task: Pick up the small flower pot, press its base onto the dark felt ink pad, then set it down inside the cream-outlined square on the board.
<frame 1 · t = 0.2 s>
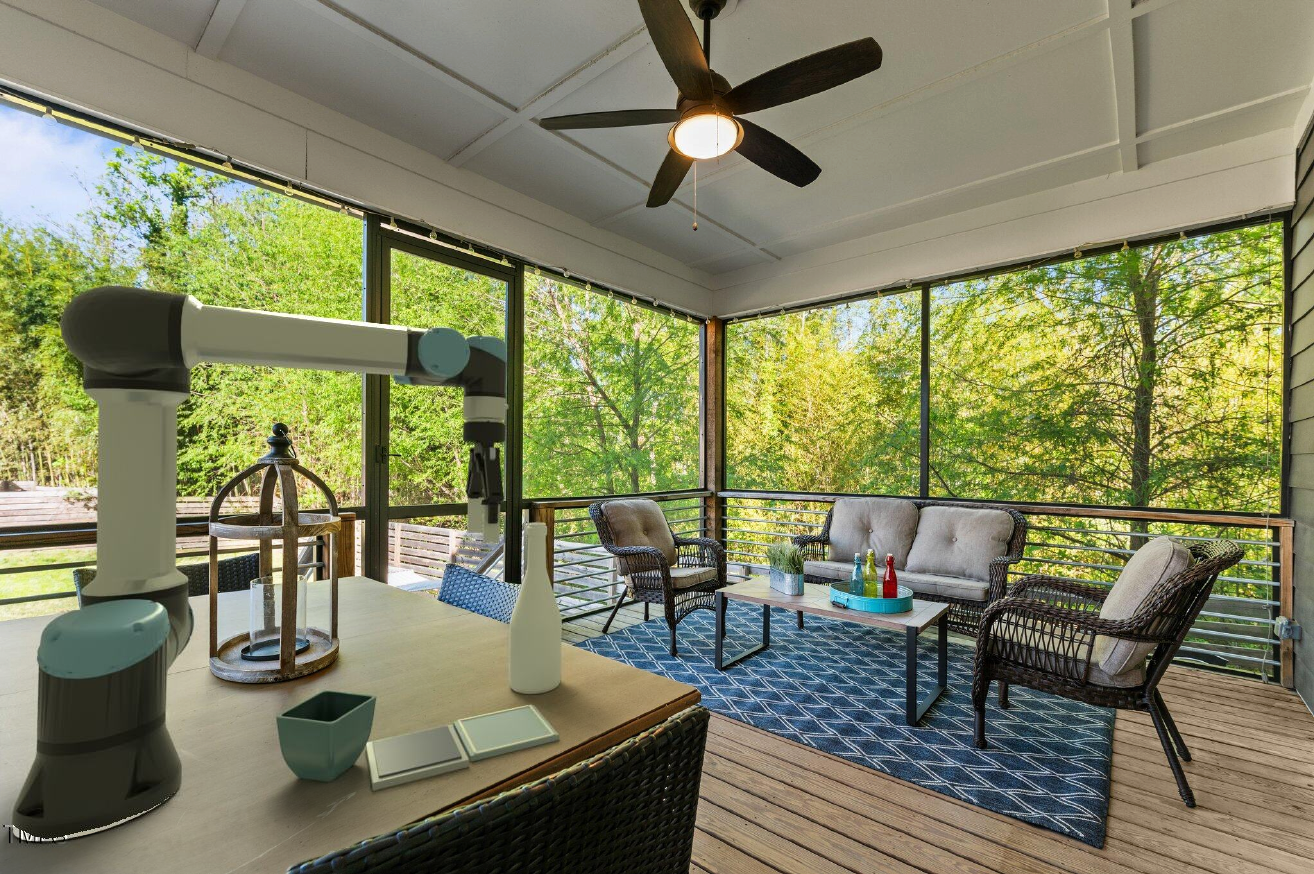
hand: (482, 537, 109), 28 cm above the table, fingers open, 13 cm apart
wine bottle: (535, 686, 110), on the table
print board: (504, 733, 92), on the table
ink pad: (415, 757, 84), on the table
flower pot: (326, 773, 81), on the table
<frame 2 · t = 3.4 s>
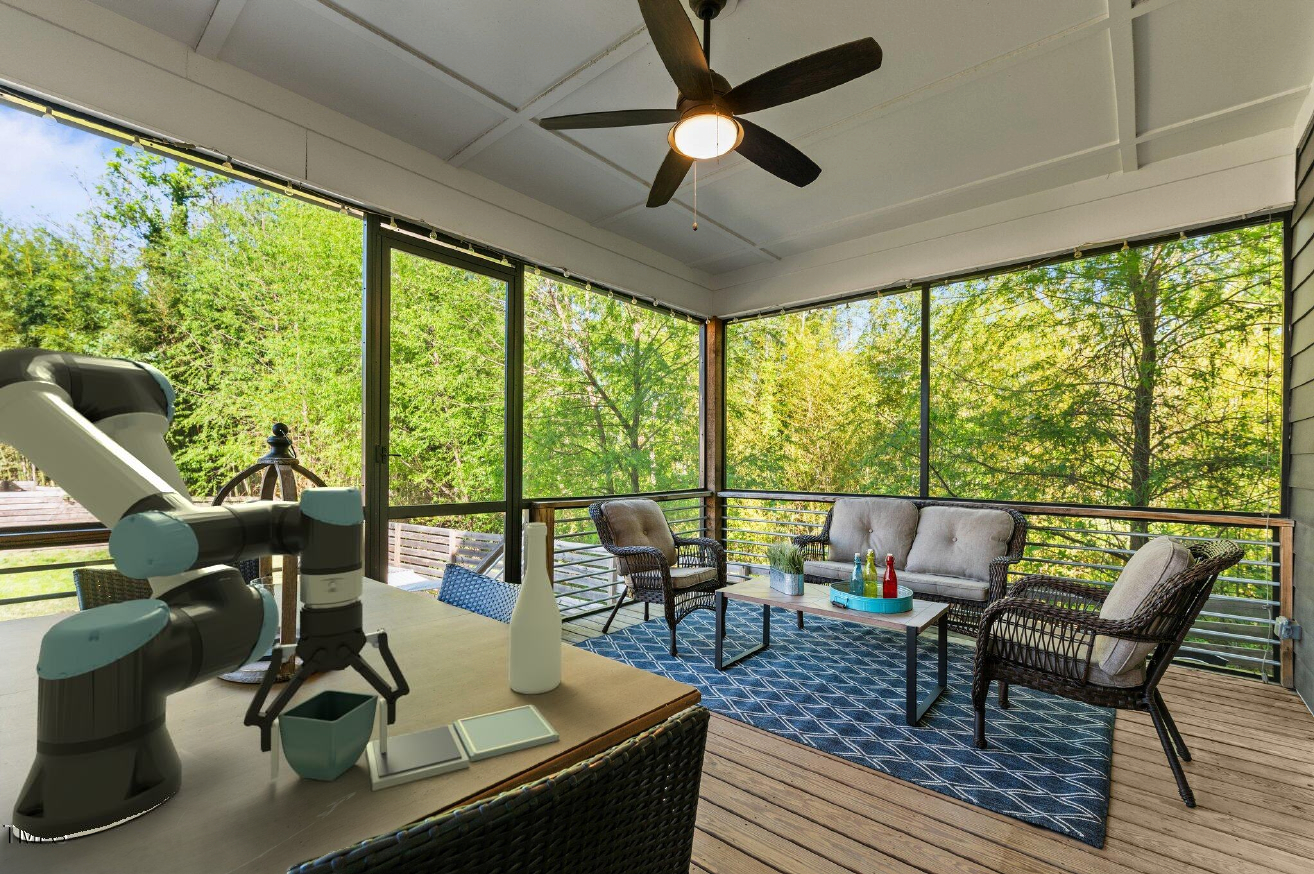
hand: (331, 760, 81), 1 cm above the table, fingers open, 12 cm apart
flower pot: (328, 772, 81), on the table, touching gripper
everything else where it was.
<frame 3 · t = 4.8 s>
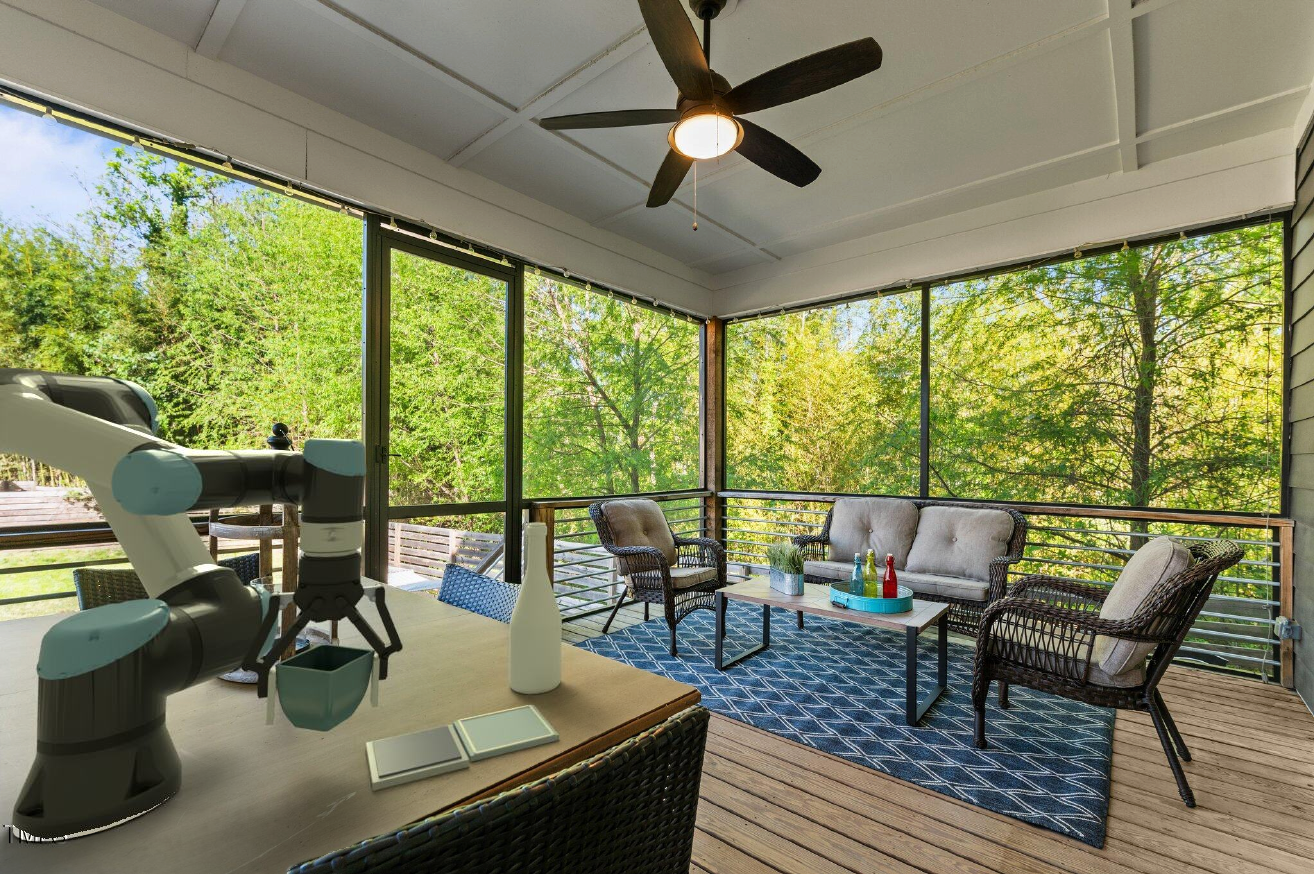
hand: (324, 711, 81), 8 cm above the table, fingers closed on flower pot, 12 cm apart
flower pot: (323, 724, 81), point 6 cm above the table, touching gripper
everything else where it was.
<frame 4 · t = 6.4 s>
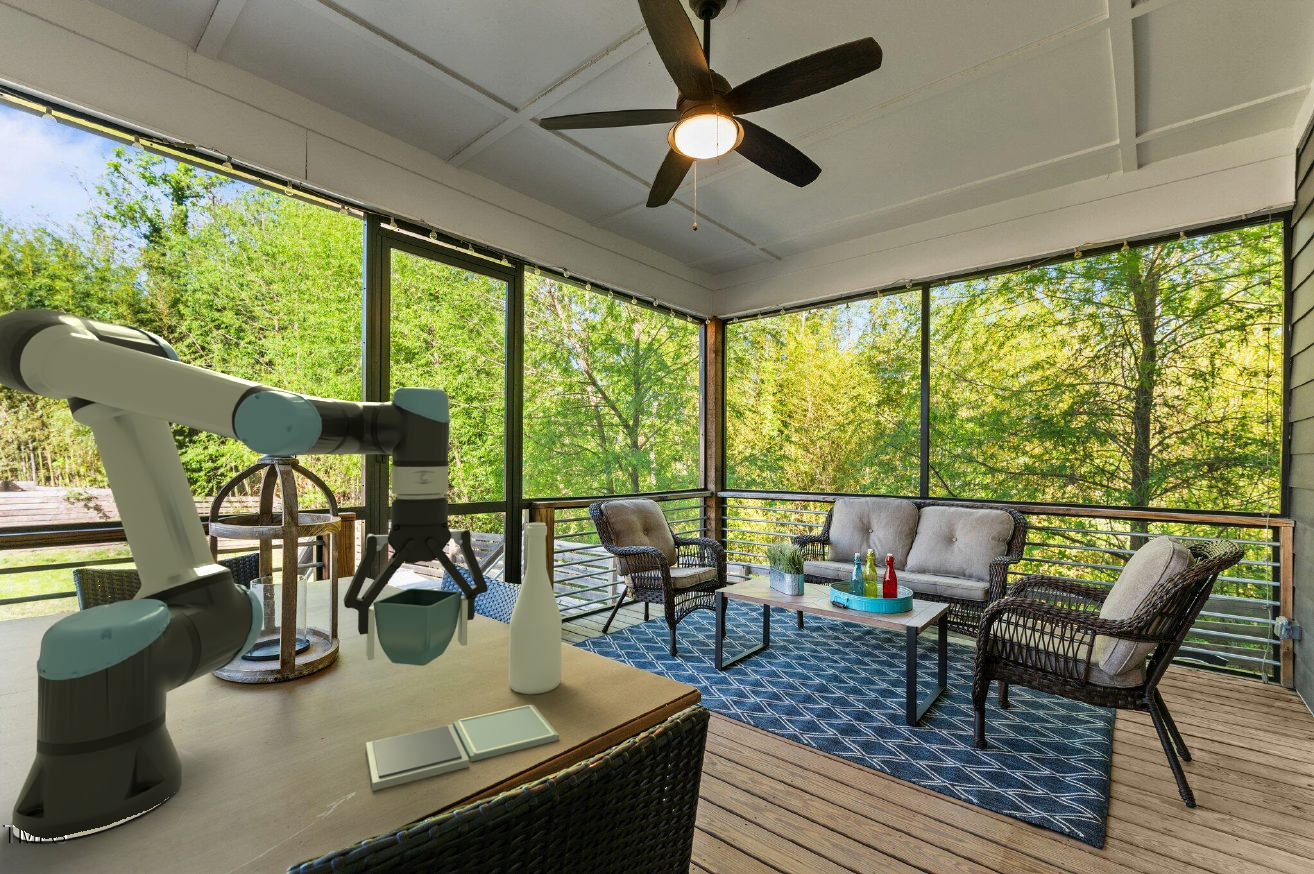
hand: (417, 649, 85), 15 cm above the table, fingers closed on flower pot, 12 cm apart
flower pot: (417, 661, 85), point 14 cm above the table, touching gripper
everything else where it was.
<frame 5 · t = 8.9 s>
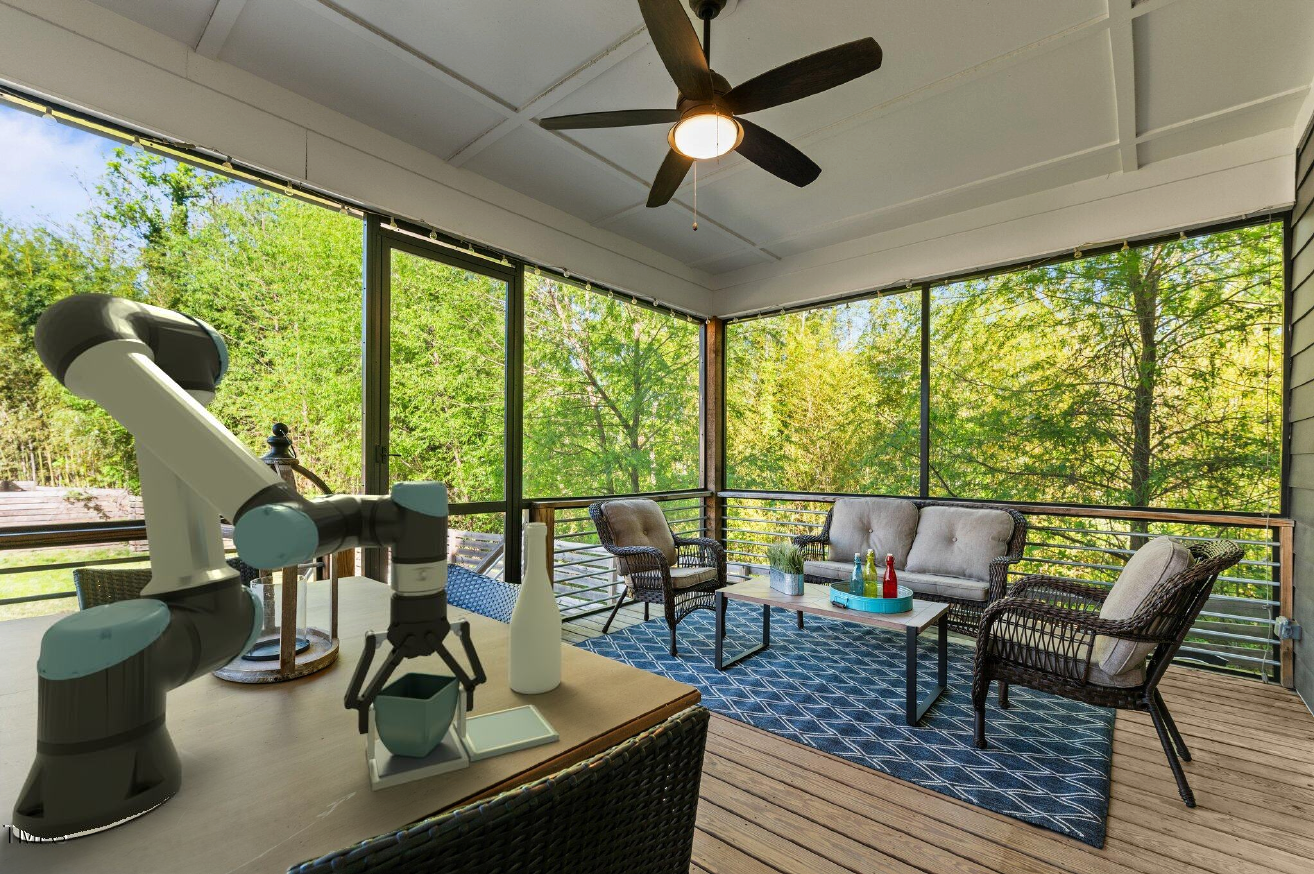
hand: (417, 744, 84), 2 cm above the table, fingers closed on flower pot, 11 cm apart
flower pot: (416, 750, 84), point 1 cm above the table, touching gripper, ink pad
everything else where it was.
when the fingers open (3 cm above the table, at t = 14.4 s): flower pot moves 2 cm, point 2 cm above the table.
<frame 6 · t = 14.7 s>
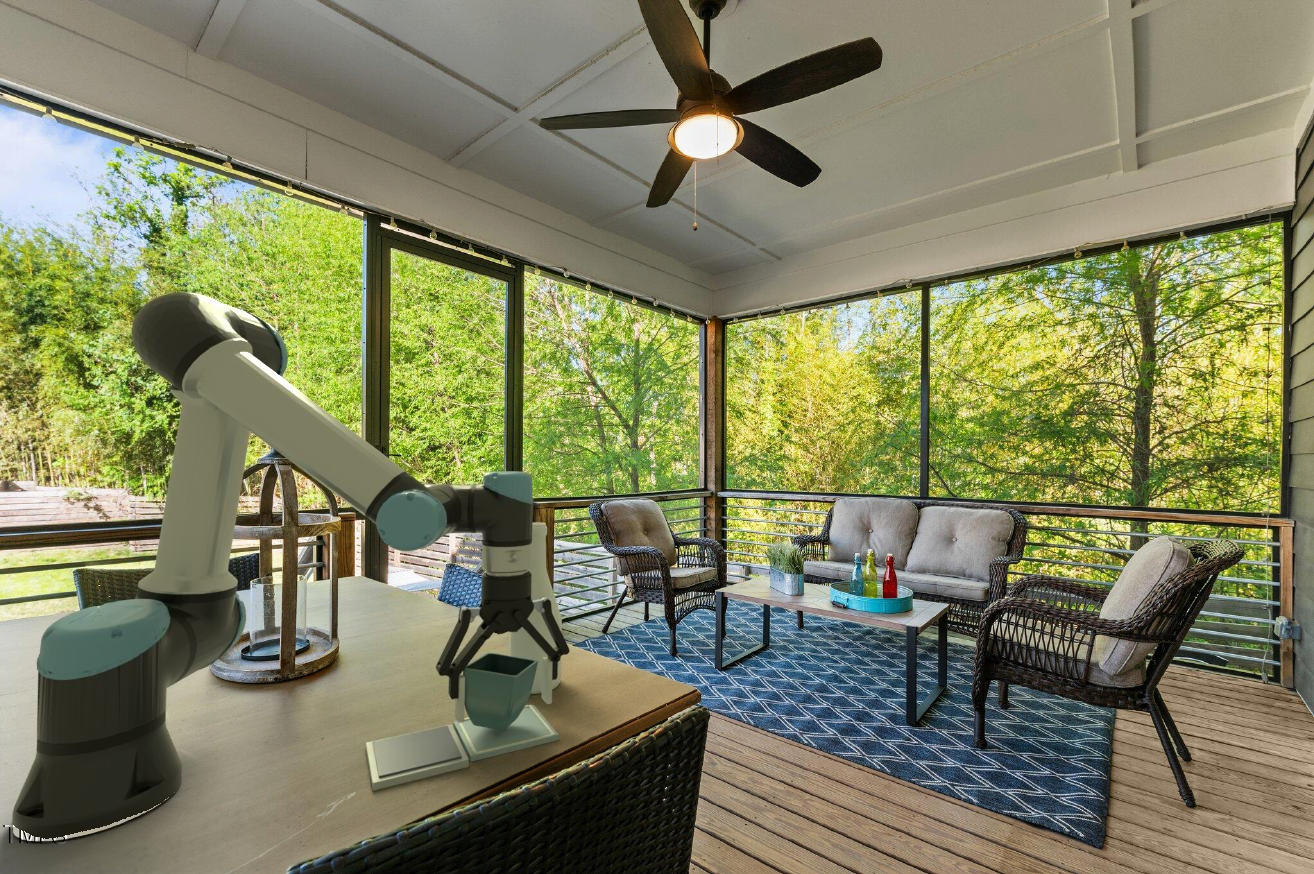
hand: (504, 709, 92), 4 cm above the table, fingers open, 13 cm apart
flower pot: (495, 724, 91), point 2 cm above the table, touching gripper
everything else where it was.
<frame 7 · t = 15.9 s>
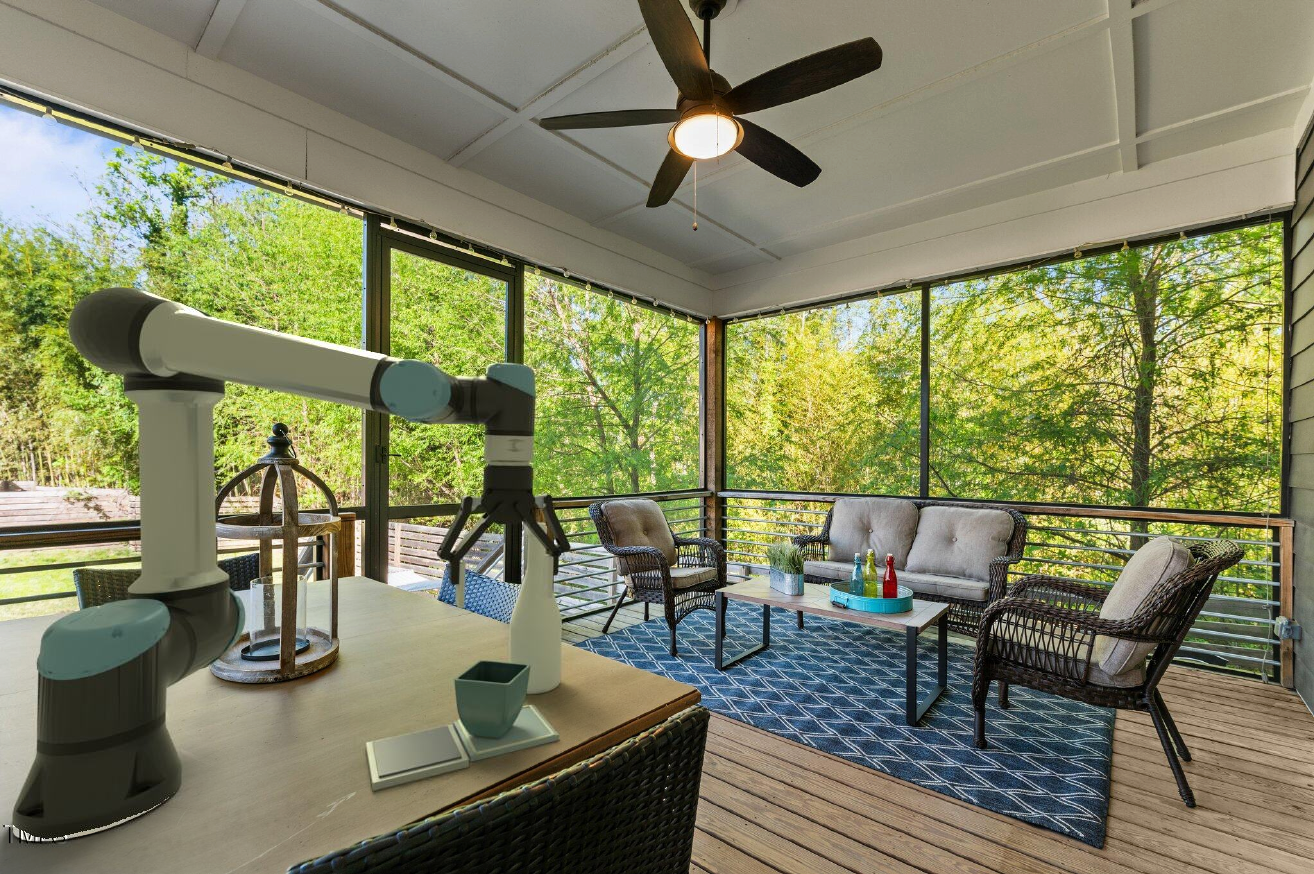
hand: (505, 601, 92), 20 cm above the table, fingers open, 13 cm apart
flower pot: (491, 732, 91), point 1 cm above the table, touching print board
everything else where it was.
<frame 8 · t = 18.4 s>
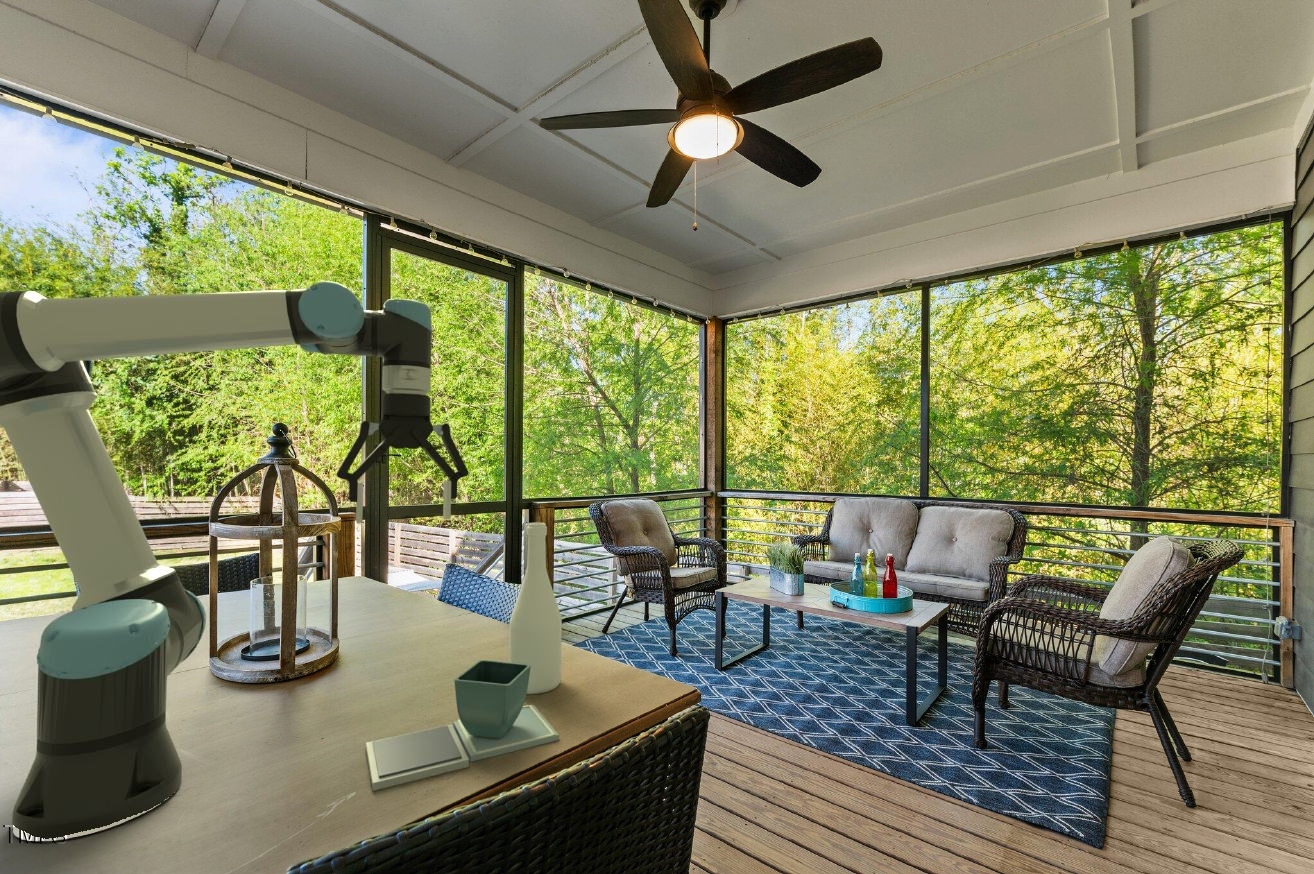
hand: (404, 520, 100), 32 cm above the table, fingers open, 13 cm apart
nothing on the table moved.
at the end: flower pot 2.0 cm off-centre on the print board, point 0.7 cm above the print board's base; flower pot tilted 1°; the gripper is holding nothing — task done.
